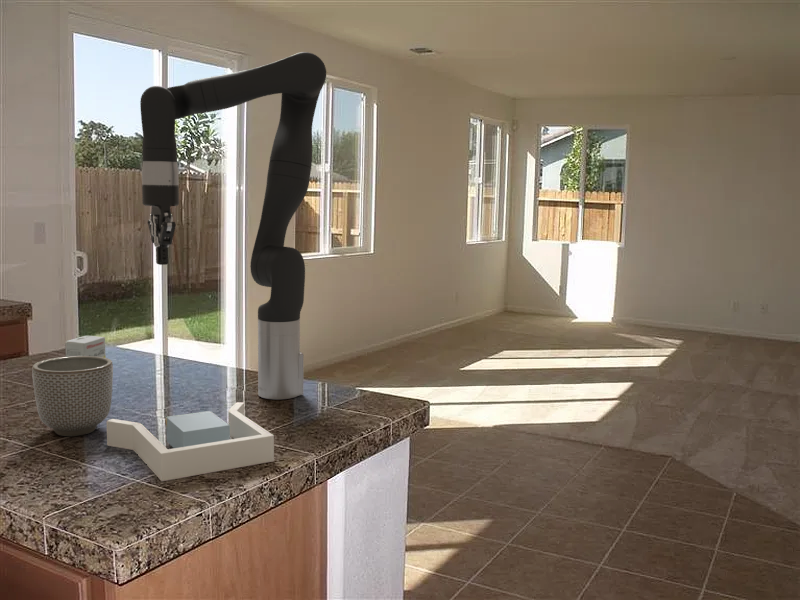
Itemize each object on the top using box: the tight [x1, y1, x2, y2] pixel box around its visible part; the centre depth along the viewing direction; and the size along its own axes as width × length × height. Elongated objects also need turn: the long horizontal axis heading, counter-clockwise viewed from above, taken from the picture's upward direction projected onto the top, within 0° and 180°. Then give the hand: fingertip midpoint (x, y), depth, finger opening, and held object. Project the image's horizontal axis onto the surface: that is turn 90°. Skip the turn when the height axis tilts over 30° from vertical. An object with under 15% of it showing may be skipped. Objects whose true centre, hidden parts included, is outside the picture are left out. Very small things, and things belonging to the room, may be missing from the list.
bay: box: [106, 401, 275, 482], centre depth 139 cm, size 26×23×4 cm
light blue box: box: [165, 410, 231, 449], centre depth 139 cm, size 8×10×6 cm
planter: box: [31, 356, 114, 437], centre depth 148 cm, size 14×14×13 cm
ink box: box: [64, 335, 107, 358], centre depth 177 cm, size 9×5×12 cm, turn 168°
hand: (162, 264), depth 172 cm, fingers closed
